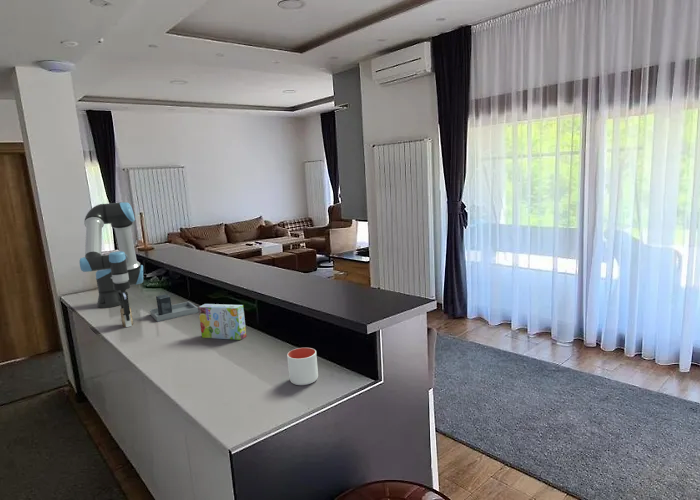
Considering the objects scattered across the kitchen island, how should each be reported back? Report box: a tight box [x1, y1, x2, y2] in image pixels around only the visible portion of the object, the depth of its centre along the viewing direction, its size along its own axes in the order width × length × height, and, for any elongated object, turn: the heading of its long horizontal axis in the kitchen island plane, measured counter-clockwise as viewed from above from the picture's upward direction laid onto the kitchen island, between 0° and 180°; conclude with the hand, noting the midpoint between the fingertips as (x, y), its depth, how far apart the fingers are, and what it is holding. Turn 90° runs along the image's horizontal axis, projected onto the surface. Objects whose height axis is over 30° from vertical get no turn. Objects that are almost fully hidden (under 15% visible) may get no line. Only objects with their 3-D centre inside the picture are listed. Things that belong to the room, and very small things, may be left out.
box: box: [155, 293, 172, 315], centre depth 245 cm, size 8×6×11 cm
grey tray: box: [149, 301, 199, 323], centre depth 249 cm, size 18×22×3 cm
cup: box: [286, 347, 319, 386], centre depth 155 cm, size 10×10×10 cm
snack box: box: [197, 303, 247, 341], centre depth 204 cm, size 21×6×15 cm, turn 71°
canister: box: [119, 306, 134, 328], centre depth 233 cm, size 5×5×9 cm
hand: (127, 324), depth 233 cm, fingers open, 5 cm apart
